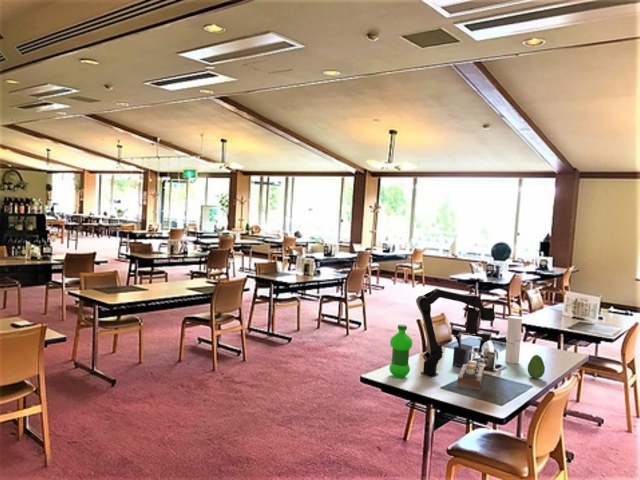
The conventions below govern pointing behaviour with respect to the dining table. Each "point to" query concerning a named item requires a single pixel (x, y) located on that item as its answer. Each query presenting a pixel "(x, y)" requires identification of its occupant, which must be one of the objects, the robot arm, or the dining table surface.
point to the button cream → (473, 362)
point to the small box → (462, 355)
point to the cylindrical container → (513, 339)
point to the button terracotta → (471, 367)
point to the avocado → (536, 367)
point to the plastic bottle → (400, 353)
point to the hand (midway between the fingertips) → (469, 351)
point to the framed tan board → (470, 378)
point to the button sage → (470, 372)
